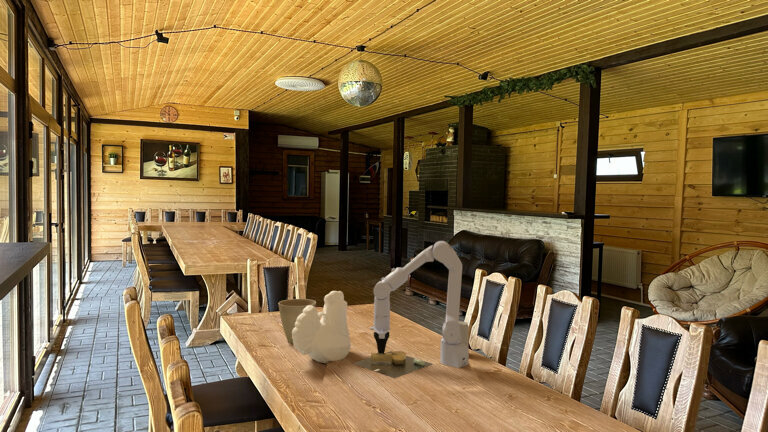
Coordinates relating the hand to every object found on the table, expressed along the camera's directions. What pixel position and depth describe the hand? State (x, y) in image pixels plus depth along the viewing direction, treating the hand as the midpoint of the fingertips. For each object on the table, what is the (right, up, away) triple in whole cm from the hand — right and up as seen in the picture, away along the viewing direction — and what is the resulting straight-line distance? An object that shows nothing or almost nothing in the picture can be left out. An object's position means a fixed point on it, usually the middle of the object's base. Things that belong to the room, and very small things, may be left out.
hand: (381, 353), depth 184 cm
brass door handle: (+2, -2, -4) cm, 6 cm away
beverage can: (+30, -4, +12) cm, 32 cm away
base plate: (+4, -4, -5) cm, 7 cm away
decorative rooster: (-22, -3, +1) cm, 23 cm away
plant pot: (-34, -2, +24) cm, 42 cm away
